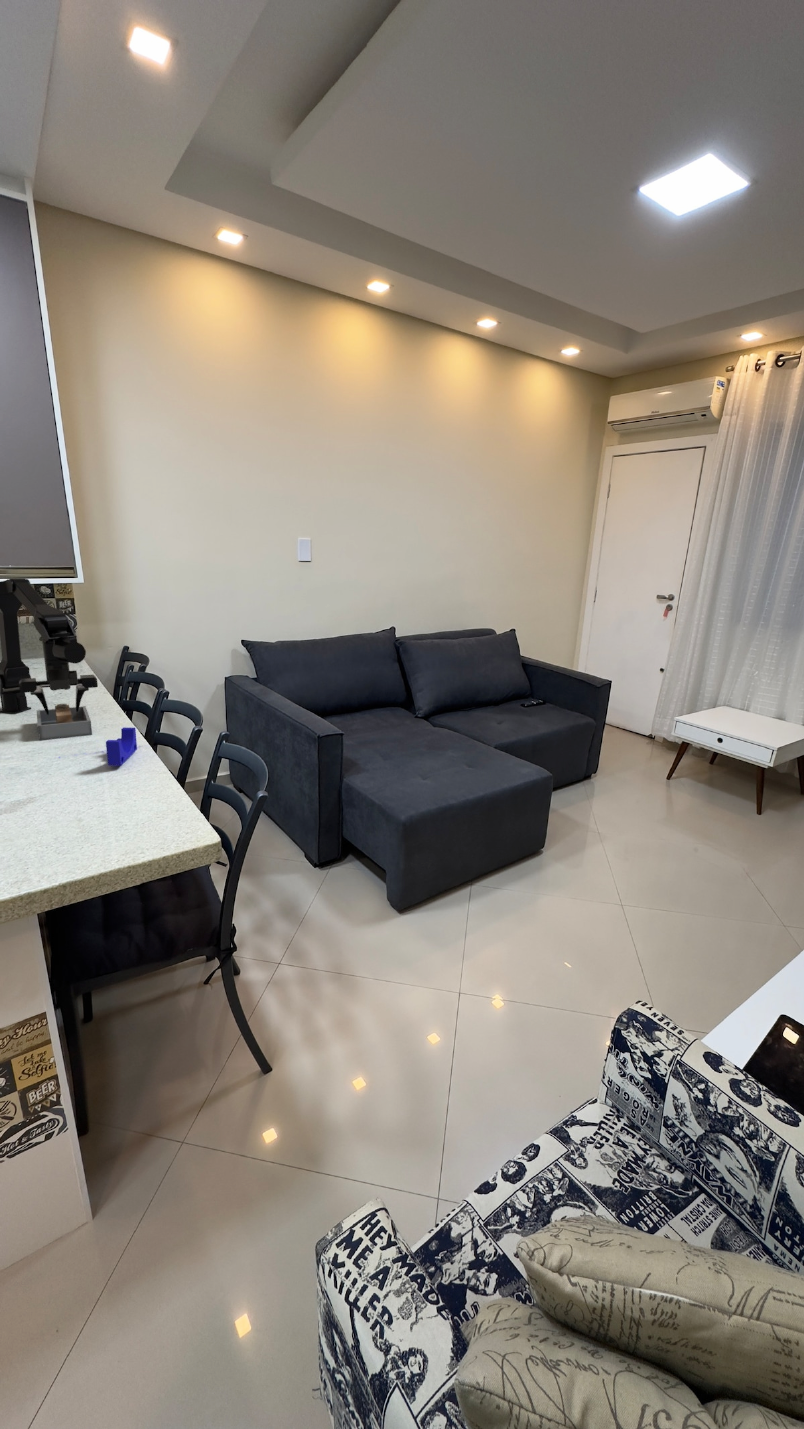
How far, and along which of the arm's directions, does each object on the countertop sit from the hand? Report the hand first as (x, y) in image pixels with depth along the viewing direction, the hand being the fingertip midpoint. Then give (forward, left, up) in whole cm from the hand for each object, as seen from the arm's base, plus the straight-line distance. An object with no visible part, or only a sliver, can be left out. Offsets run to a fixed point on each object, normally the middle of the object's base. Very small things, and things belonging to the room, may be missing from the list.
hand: (62, 712), depth 166 cm
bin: (0, 0, -5) cm, 5 cm away
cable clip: (+29, -14, -5) cm, 33 cm away
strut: (0, 0, -4) cm, 4 cm away
